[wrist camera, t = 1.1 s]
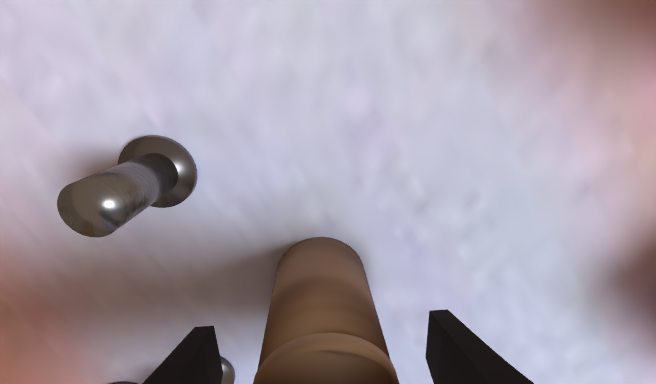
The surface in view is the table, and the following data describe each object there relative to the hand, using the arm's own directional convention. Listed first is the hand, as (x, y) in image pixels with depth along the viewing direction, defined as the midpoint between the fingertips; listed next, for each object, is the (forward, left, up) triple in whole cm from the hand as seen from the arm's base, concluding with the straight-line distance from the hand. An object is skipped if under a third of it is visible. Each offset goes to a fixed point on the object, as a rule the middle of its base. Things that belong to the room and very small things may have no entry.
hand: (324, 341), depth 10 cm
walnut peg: (0, 0, -4) cm, 4 cm away
